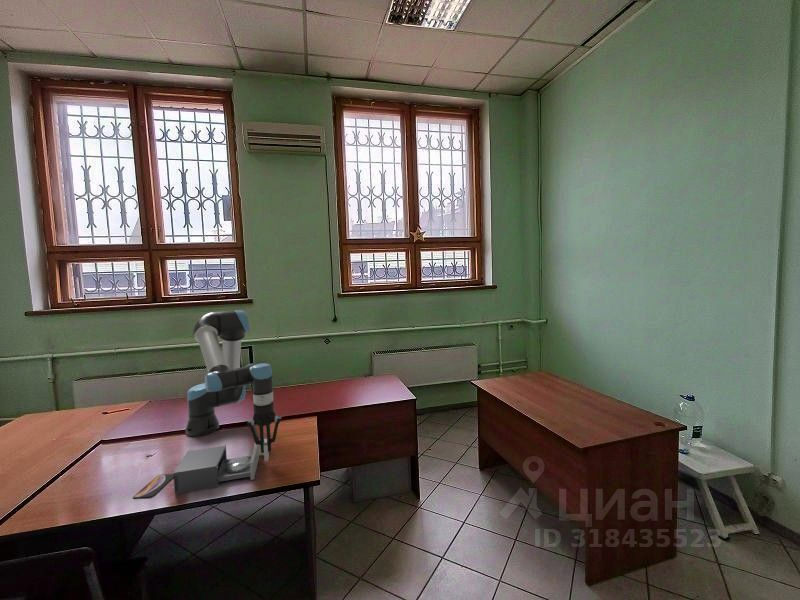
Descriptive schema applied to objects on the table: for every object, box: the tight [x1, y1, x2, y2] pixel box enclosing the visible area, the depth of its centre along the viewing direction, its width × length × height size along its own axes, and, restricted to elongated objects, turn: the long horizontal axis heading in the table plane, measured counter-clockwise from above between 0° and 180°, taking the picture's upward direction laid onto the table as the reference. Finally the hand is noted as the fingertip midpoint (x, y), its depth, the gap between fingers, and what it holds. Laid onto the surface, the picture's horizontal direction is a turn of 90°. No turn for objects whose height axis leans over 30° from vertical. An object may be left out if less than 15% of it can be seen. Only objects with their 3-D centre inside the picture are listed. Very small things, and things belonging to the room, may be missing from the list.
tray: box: [218, 443, 260, 483], centre depth 139 cm, size 17×14×7 cm
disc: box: [225, 456, 250, 473], centre depth 140 cm, size 9×9×2 cm
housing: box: [172, 444, 228, 495], centre depth 136 cm, size 17×14×8 cm
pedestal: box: [253, 438, 267, 457], centre depth 155 cm, size 5×5×5 cm
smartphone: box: [132, 473, 174, 500], centre depth 132 cm, size 8×1×15 cm
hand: (266, 459), depth 142 cm, fingers closed
